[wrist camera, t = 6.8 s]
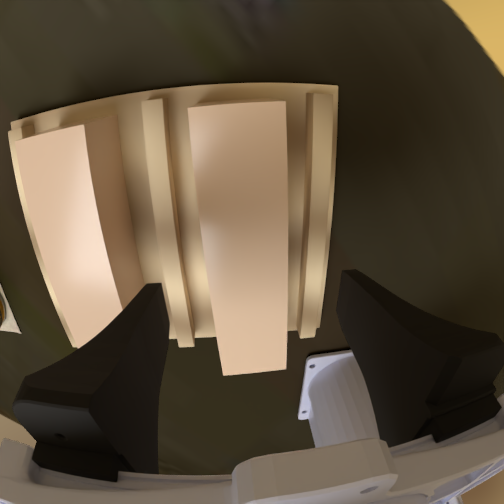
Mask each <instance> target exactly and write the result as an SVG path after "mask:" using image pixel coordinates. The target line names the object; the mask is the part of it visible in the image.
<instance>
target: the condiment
mask: <svg viewBox="0 0 504 504" xmlns="http://www.w3.org/2000/svg"><path fill="white" fill-rule="evenodd" d="M0 330H2V331H9V332H18V333H20V334H21V332H20V330H19V328H18V326H17V324H16V321H15V319H14V316H13V314H12V311H11V309H10V307H9V304H8V301H7V299H6V297H5V295H4V292H3V290H2V287H1V284H0Z"/></svg>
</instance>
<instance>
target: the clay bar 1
mask: <svg viewBox="0 0 504 504" xmlns="http://www.w3.org/2000/svg"><path fill="white" fill-rule="evenodd" d="M15 146H16V153H17V159H18V164H19V170H20V175H21V180H22V185H23V189H24V194H25V198H26V202H27V206H28V210H29V214H30V218H31V222H32V226H33V229H34V233H35V236H36V240H37V243H38V246H39V249H40V253H41V256H42V259H43V262H44V265H45V268H46V271H47V274H48V276H49V279H50V282H51V285H52V287H53V290H54V293H55V295H56V298H57V300H58V303H59V306H60V308H61V310H62V313H63V315H64V318H65V320H66V322H67V325H68V327H69V329H70V332H71V334H72V336H73V338H74V340H75V343H76V345H77V347H78V349H79V348H80V347H81V346H83V345H84V344H86V343H87V342H88V341H90V340H91V339H92V338H94V337H95V336H96V335H97V334H98V333H100V332H101V331H102V330H103V329H104V328H105V327H106V326H107V325H108V324H109V323H110V322H111V321H112V320H113V319H114V318H115V317H116V316H117V315H118V314H119V313H120V312H121V311H122V310H123V309H124V308H125V307H126V306H127V305H128V304H129V303H130V302H131V300H132V299H133V298H134V297H135V296H136V295H137V294H138V292H139V291H140V290H141V289H142V288H143V287H144V286H145V284H144V280H143V275H142V271H141V266H140V261H139V257H138V252H137V247H136V242H135V237H134V231H133V226H132V220H131V215H130V209H129V203H128V197H127V190H126V184H125V177H124V170H123V162H122V154H121V146H120V137H119V127H118V116H117V114H116V115H111V116H105V117H99V118H94V119H89V120H84V121H79V122H75V123H70V124H66V125H61V126H58V127H54V128H51V129H48V130H45V131H42V132H39V133H36V134H34V135H31V136H28V137H25V138H23V139H20V140H17V141H15Z"/></svg>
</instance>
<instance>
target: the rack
mask: <svg viewBox="0 0 504 504" xmlns="http://www.w3.org/2000/svg"><path fill="white" fill-rule="evenodd" d="M267 98H269V99H275V100H281V101H286V127H287V168H288V314H287V331H292V330H298V333H299V336H300V338H309V337H315V331H316V328H319V327H320V320H321V312H322V305H323V297H324V289H325V281H326V272H327V263H328V254H329V244H330V233H331V222H332V210H333V197H334V183H335V166H336V146H337V118H338V86H336V85H322V84H303V83H231V84H212V85H198V86H186V87H176V88H167V89H159V90H151V91H144V92H137V93H131V94H125V95H119V96H113V97H108V98H103V99H98V100H93V101H88V102H83V103H79V104H75V105H70V106H66V107H62V108H58V109H55V110H51V111H47V112H44V113H40V114H37V115H33V116H30V117H27V118H23V119H20V120H17V121H14V122H11V128H12V131H9V132H8V136H9V143H10V149H11V155H12V161H13V167H14V172H15V177H16V182H17V186H18V191H19V195H20V200H21V204H22V208H23V212H24V216H25V219H26V223H27V227H28V230H29V234H30V237H31V240H32V244H33V247H34V250H35V253H36V256H37V259H38V262H39V265H40V268H41V271H42V274H43V277H44V279H45V282H46V285H47V287H48V290H49V293H50V295H51V298H52V300H53V303H54V305H55V308H56V310H57V313H58V315H59V317H60V320H61V322H62V324H63V326H64V329H65V331H66V333H67V335H68V337H69V340H70V342H71V344H72V346H73V347H77V345H76V343H75V340H74V338H73V336H72V334H71V332H70V329H69V327H68V325H67V322H66V320H65V318H64V315H63V313H62V310H61V308H60V306H59V303H58V300H57V298H56V295H55V293H54V290H53V287H52V285H51V282H50V279H49V276H48V274H47V271H46V268H45V265H44V262H43V259H42V256H41V253H40V249H39V246H38V243H37V240H36V236H35V233H34V229H33V226H32V222H31V218H30V214H29V210H28V206H27V202H26V198H25V194H24V189H23V185H22V180H21V175H20V170H19V164H18V159H17V153H16V146H15V141H17V140H20V139H23V138H25V137H28V136H31V135H34V134H36V133H39V132H42V131H45V130H48V129H51V128H54V127H58V126H61V125H66V124H70V123H75V122H79V121H84V120H89V119H94V118H99V117H105V116H111V115H116V114H117V116H118V127H119V137H120V146H121V154H122V162H123V170H124V177H125V184H126V190H127V197H128V203H129V209H130V215H131V220H132V226H133V231H134V237H135V242H136V247H137V252H138V257H139V261H140V266H141V271H142V275H143V280H144V284H145V285H146V284H147V283H162V288H163V293H164V298H165V302H166V307H167V312H168V316H169V321H170V331H169V339H175V338H177V340H178V344H179V347H194V340H195V338H199V337H217V336H216V330H215V324H214V318H213V311H212V305H211V299H210V292H209V285H208V279H207V272H206V265H205V258H204V250H203V243H202V236H201V228H200V220H199V212H198V204H197V196H196V187H195V178H194V169H193V160H192V150H191V140H190V130H189V119H188V107H190V106H192V105H194V104H197V103H207V102H218V101H230V100H245V99H267Z"/></svg>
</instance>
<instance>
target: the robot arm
mask: <svg viewBox="0 0 504 504" xmlns="http://www.w3.org/2000/svg"><path fill="white" fill-rule="evenodd" d="M336 311H337V315H338V318H339V322H340V325H341V328H342V331H343V333H344V335H345V337H346V340H347V342H348V344H349V346H350V348H351V350H345V351H339V352H332V353H325V354H318V355H311V356H309V357H308V358H307V359H306V365H305V372H304V379H303V385H302V392H301V398H300V405H299V411H298V418H299V419H301V420H303V419H309V423H310V427H311V431H312V435H313V439H314V443H315V447H316V448H312V449H306V450H300V451H293V452H285V453H277V454H269V455H265V456H260V457H254V458H251V459H249V460H247V461H244V462H242V463H240V464H238V465H237V466H236V467H235V469H234V471H233V472H232V475H207V476H185V475H159V470H158V405H159V393H160V387H161V381H162V376H163V371H164V365H165V360H166V355H167V350H168V345H169V331H170V321H169V316H168V312H167V307H166V302H165V298H164V293H163V288H162V283H147V284H146V285H145V286H144V287H143V288H142V289H141V290H140V291H139V292H138V294H137V295H136V296H135V297H134V298H133V299H132V300H131V302H130V303H129V304H128V305H127V306H126V307H125V308H124V309H123V310H122V311H121V312H120V313H119V314H118V315H117V316H116V317H115V318H114V319H113V320H112V321H111V322H110V323H109V324H108V325H107V326H106V327H105V328H104V329H103V330H102V331H101V332H100V333H98V334H97V335H96V336H95V337H94V338H92V339H91V340H90V341H88V342H87V343H86V344H84V345H83V346H81V347H80V348H79V349H77V350H76V351H74V352H73V353H71V354H70V355H68V356H66V357H65V358H63V359H61V360H60V361H58V362H56V363H54V364H52V365H50V366H48V367H46V368H44V369H42V370H39V371H37V372H35V373H33V374H30V375H28V376H25V378H24V380H23V382H22V384H21V386H20V389H19V391H18V393H17V395H16V398H15V400H14V402H13V406H12V409H13V412H14V414H15V416H16V418H17V419H18V421H19V422H20V423H21V424H22V426H23V427H24V428H25V429H26V430H27V431H28V432H29V433H30V435H31V436H32V437H33V438H34V439H35V440H36V441H37V443H36V445H35V449H34V448H33V447H31V446H29V445H27V444H24V443H20V442H17V441H13V440H10V439H6V438H4V439H3V441H2V444H1V446H0V504H463V501H462V498H461V494H463V493H465V492H467V491H469V490H470V489H472V488H474V487H475V486H477V485H479V484H480V483H482V482H484V481H485V480H487V479H488V478H490V477H492V476H493V475H495V474H497V473H498V472H500V471H501V470H503V469H504V394H502V395H501V396H500V397H498V398H497V399H496V397H495V396H494V394H493V393H495V391H496V388H495V386H494V385H493V381H494V380H495V378H496V377H497V375H498V373H499V372H500V370H501V369H502V367H503V365H504V343H503V342H502V340H501V339H500V338H499V337H498V335H497V334H495V333H490V332H485V331H480V330H475V329H471V328H467V327H464V326H460V325H457V324H454V323H451V322H448V321H446V320H443V319H441V318H438V317H436V316H433V315H431V314H429V313H427V312H425V311H423V310H421V309H419V308H417V307H415V306H413V305H411V304H410V303H408V302H406V301H404V300H403V299H401V298H399V297H398V296H396V295H395V294H393V293H392V292H390V291H388V290H387V289H385V288H384V287H382V286H381V285H379V284H378V283H377V282H375V281H374V280H372V279H371V278H369V277H368V276H366V275H365V274H363V273H361V272H360V271H358V270H356V269H354V270H343V271H342V276H341V283H340V289H339V296H338V302H337V309H336ZM312 364H313V365H312Z"/></svg>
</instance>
